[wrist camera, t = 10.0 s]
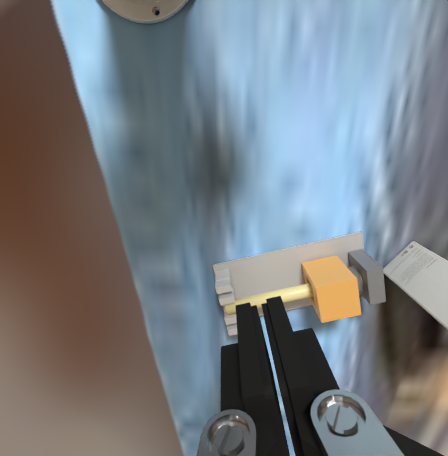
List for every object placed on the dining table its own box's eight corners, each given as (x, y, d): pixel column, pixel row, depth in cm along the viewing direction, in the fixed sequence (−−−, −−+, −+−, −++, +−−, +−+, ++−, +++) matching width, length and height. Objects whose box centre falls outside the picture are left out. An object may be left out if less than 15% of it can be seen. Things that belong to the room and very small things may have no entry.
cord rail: (212, 264, 44) (211, 286, 38) (360, 231, 43) (383, 248, 37) (228, 321, 47) (229, 349, 41) (367, 292, 46) (389, 317, 40)
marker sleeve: (301, 262, 43) (315, 287, 37) (336, 255, 43) (357, 278, 36) (306, 293, 45) (321, 323, 38) (340, 286, 45) (361, 314, 38)
